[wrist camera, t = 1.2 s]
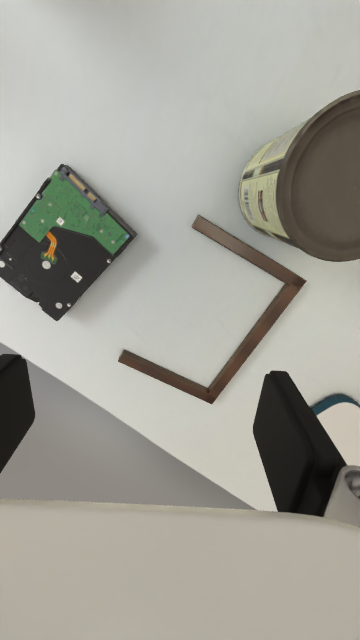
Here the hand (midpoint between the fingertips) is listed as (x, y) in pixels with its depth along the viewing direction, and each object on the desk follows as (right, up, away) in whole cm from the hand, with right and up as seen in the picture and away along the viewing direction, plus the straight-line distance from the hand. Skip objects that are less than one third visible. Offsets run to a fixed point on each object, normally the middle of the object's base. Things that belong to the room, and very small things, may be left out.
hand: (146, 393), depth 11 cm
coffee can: (+13, +18, +20) cm, 30 cm away
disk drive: (-12, +12, +23) cm, 29 cm away
